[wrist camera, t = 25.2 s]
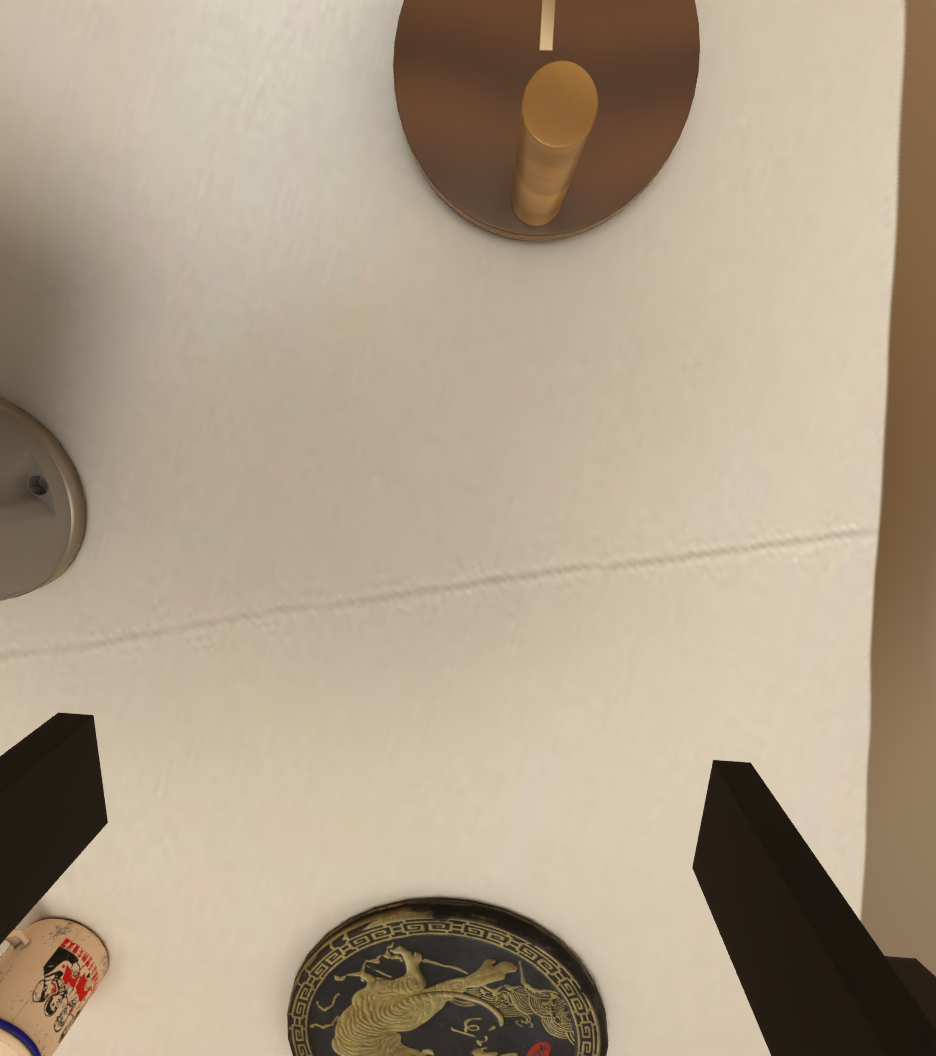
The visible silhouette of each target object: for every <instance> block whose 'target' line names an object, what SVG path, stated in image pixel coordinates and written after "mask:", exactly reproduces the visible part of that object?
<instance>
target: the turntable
mask: <svg viewBox="0 0 936 1056" xmlns="http://www.w3.org/2000/svg"><path fill="white" fill-rule="evenodd" d="M699 54H700V40H699V23H698V17H697V11H696V5H695V0H404V2H403V6H402V9H401V13H400V16H399V20H398V26H397V32H396V38H395V46H394V63H393V69H394V87H395V94H396V100H397V106H398V112H399V115H400V119H401V122H402V126H403V129H404V133H405V136H406V139H407V141H408V144H409V146H410V149H411V151H412V153H413V156H414V158H415V160H416V162H417V164H418V166H419V167H420V169H421V171H422V173H423V174H424V176H425V178H426V179H427V180H428V182H429V183H430V184H431V186H432V187H433V188H434V190H435V191H436V192H437V194H438V195H439V196H440V197H441V198H442V199H443V200H444V201H445V202H446V203H447V204H448V205H449V206H450V207H451V208H452V209H454V210H455V211H456V212H458V213H459V214H460V215H461V216H463V217H464V218H465V219H467V220H469V221H470V222H472V223H474V224H476V225H477V226H479V227H481V228H483V229H485V230H488V231H490V232H493V233H495V234H498V235H502V236H506V237H510V238H513V239H521V240H531V241H539V240H554V239H559V238H565V237H570V236H573V235H576V234H579V233H582V232H585V231H588V230H590V229H592V228H594V227H596V226H598V225H600V224H602V223H604V222H606V221H607V220H609V219H610V218H612V217H613V216H615V215H616V214H618V213H619V212H621V211H622V210H623V209H624V208H625V207H626V206H628V205H629V204H630V203H631V202H632V201H633V200H635V199H636V198H637V197H638V196H639V194H640V193H641V192H642V191H643V190H644V189H645V188H646V187H647V186H648V185H649V183H650V182H651V181H652V180H653V178H654V177H655V176H656V174H657V173H658V172H659V170H660V169H661V167H662V166H663V165H664V163H665V162H666V160H667V159H668V157H669V156H670V154H671V152H672V150H673V148H674V147H675V145H676V143H677V141H678V139H679V137H680V135H681V132H682V130H683V128H684V125H685V123H686V120H687V118H688V115H689V111H690V108H691V105H692V101H693V98H694V94H695V88H696V82H697V77H698V70H699Z"/></svg>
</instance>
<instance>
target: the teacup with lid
mask: <svg viewBox="0 0 936 1056" xmlns="http://www.w3.org/2000/svg"><path fill="white" fill-rule="evenodd" d="M5 940H7V941H8V942H10V944H11V945H10V947H9V948H8V949H7V950H6V951H5V952H4V954H3V955H2V956H1V957H0V1056H52V1055H53V1053H54V1052H55V1050H56V1049H57V1047H58V1046H59V1044H60V1043H61V1041H62V1040H63V1038H64V1037H65V1035H66V1034H67V1032H68V1031H69V1029H70V1028H71V1026H72V1025H73V1023H74V1021H75V1020H76V1018H77V1017H78V1015H79V1014H80V1012H81V1011H82V1009H83V1008H84V1006H85V1005H86V1003H87V1002H88V1000H89V999H90V997H91V996H92V994H93V993H94V991H95V990H96V988H97V986H98V985H99V983H100V982H101V980H102V979H103V977H104V975H105V973H106V970H107V966H108V958H107V953H106V950H105V948H104V946H103V944H102V943H101V941H100V940H99V939H98V938H97V937H96V936H95V935H94V934H93V933H92V932H91V931H89V930H88V929H87V928H85V927H83V926H81V925H79V924H77V923H75V922H72V921H68V920H63V919H45V920H41V921H38V922H35V923H33V924H31V925H30V926H28V927H27V928H26V929H25V930H24V931H23V932H22V931H20V930H17V929H14V930H13V931H12V932H11V933H10V934H9V935H8V936H7V938H6V939H5Z"/></svg>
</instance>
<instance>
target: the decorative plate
mask: <svg viewBox="0 0 936 1056" xmlns="http://www.w3.org/2000/svg"><path fill="white" fill-rule="evenodd" d="M287 1016H288V1040H289V1043H290V1047H291V1050H292V1054H293V1056H606V1055H607V1049H608V1033H607V1024H606V1014H605V1009H604V1006H603V1003H602V1001H601V998H600V995H599V993H598V990H597V987H596V985H595V983H594V982H593V980H592V979H591V977H590V976H589V974H588V973H587V971H586V970H585V968H584V967H583V965H582V964H581V962H580V961H579V960H578V959H577V958H576V957H575V956H574V955H573V954H572V953H571V952H570V951H569V950H568V949H567V948H566V947H565V946H564V945H563V944H562V943H561V942H560V941H559V940H558V939H556V938H555V937H553V936H552V935H550V934H549V933H547V932H546V931H544V930H543V929H541V928H540V927H538V926H537V925H535V924H534V923H532V922H530V921H527V920H525V919H523V918H521V917H518V916H516V915H514V914H511V913H509V912H507V911H505V910H501V909H497V908H493V907H489V906H485V905H482V904H478V903H474V902H466V901H455V900H444V899H431V900H417V901H405V902H401V903H396V904H392V905H388V906H384V907H380V908H376V909H373V910H371V911H369V912H366V913H364V914H362V915H360V916H357V917H355V918H353V919H351V920H348V921H347V922H345V923H344V924H343V925H341V926H340V927H338V928H337V929H335V930H334V931H333V932H331V933H330V934H328V935H327V936H325V938H324V939H323V940H322V941H321V942H320V943H319V944H318V945H317V946H316V947H315V948H314V950H313V951H312V952H311V953H310V954H309V955H308V956H307V958H306V960H305V962H304V964H303V965H302V967H301V969H300V971H299V973H298V975H297V976H296V978H295V982H294V986H293V990H292V994H291V998H290V1002H289V1007H288V1013H287Z"/></svg>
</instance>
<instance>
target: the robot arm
mask: <svg viewBox="0 0 936 1056" xmlns="http://www.w3.org/2000/svg"><path fill="white" fill-rule="evenodd" d="M85 517H86V516H85V502H84V496H83V492H82V487H81V484H80V481H79V478H78V476H77V473H76V471H75V469H74V467H73V465H72V463H71V461H70V459H69V457H68V456H67V454H66V453H65V451H64V450H63V448H62V447H61V445H60V444H59V443H58V442H57V440H56V439H55V438H54V437H53V436H52V435H51V433H50V432H49V431H48V430H47V429H46V428H45V427H44V426H42V425H41V424H40V423H39V422H38V421H37V420H35V419H34V418H33V417H32V416H30V415H29V414H27V413H26V412H24V411H23V410H21V409H20V408H18V407H16V406H14V405H12V404H11V403H8V402H6V401H4V400H2V399H0V601H2V600H6V599H10V598H14V597H18V596H21V595H24V594H26V593H29V592H31V591H33V590H36V589H38V588H40V587H42V586H44V585H46V584H48V583H50V582H51V581H53V580H54V579H56V578H57V577H58V576H59V575H61V574H62V573H63V572H64V571H65V570H66V569H67V568H68V566H69V565H70V564H71V562H72V561H73V559H74V558H75V556H76V554H77V552H78V550H79V547H80V545H81V542H82V539H83V535H84V529H85ZM107 823H108V821H107V813H106V806H105V798H104V791H103V783H102V776H101V768H100V761H99V753H98V746H97V739H96V731H95V724H94V716H93V715H83V714H69V713H57V714H56V715H55V716H53V717H52V718H51V719H49V720H48V721H47V722H45V723H44V724H43V725H41V726H40V727H39V728H37V729H36V730H35V731H33V732H32V733H31V734H29V735H28V736H27V737H25V738H24V739H23V740H21V741H20V742H19V743H17V744H16V745H15V746H13V747H12V748H11V749H9V750H8V751H7V752H5V753H4V754H3V755H1V756H0V944H1V943H2V942H3V941H4V940H5V939H6V938H7V936H8V935H9V934H10V933H11V932H12V931H13V930H14V929H15V927H16V926H17V925H18V924H19V923H20V922H21V921H22V919H23V918H24V917H25V916H26V915H27V914H28V913H29V911H30V910H31V909H32V908H33V907H34V906H35V905H36V904H37V902H38V901H39V900H40V899H41V898H42V897H43V896H44V894H45V893H46V892H47V891H48V890H49V889H50V888H51V886H52V885H53V884H54V883H55V882H56V881H57V880H58V879H59V877H60V876H61V875H62V874H63V873H64V872H65V871H66V869H67V868H68V867H69V866H70V865H71V864H72V863H73V861H74V860H75V859H76V858H77V857H78V856H79V855H80V854H81V852H82V851H83V850H84V849H85V848H86V847H87V846H88V844H89V843H90V842H91V841H92V840H93V839H94V838H95V836H96V835H97V834H98V833H99V832H100V831H101V830H102V828H103V827H104V826H105V825H106V824H107ZM692 868H693V870H694V873H695V875H696V877H697V880H698V882H699V885H700V887H701V889H702V892H703V894H704V896H705V899H706V901H707V904H708V906H709V908H710V911H711V913H712V915H713V918H714V920H715V923H716V925H717V927H718V930H719V932H720V935H721V937H722V939H723V942H724V944H725V946H726V949H727V951H728V954H729V956H730V958H731V961H732V963H733V965H734V968H735V970H736V973H737V975H738V977H739V980H740V982H741V985H742V987H743V989H744V992H745V994H746V996H747V999H748V1001H749V1004H750V1006H751V1008H752V1011H753V1013H754V1015H755V1018H756V1020H757V1023H758V1025H759V1027H760V1030H761V1032H762V1035H763V1037H764V1039H765V1042H766V1044H767V1046H768V1049H769V1051H770V1054H771V1056H936V977H935V976H934V975H933V974H932V973H931V972H930V971H929V970H928V969H926V968H925V967H924V966H923V965H922V964H921V963H920V962H919V961H918V960H917V959H913V958H901V957H888V956H884V955H883V953H882V952H881V950H880V949H879V948H878V946H877V945H876V943H875V942H874V940H873V939H872V938H871V936H870V935H869V933H868V932H867V930H866V929H865V927H864V926H863V924H862V923H861V922H860V920H859V919H858V917H857V916H856V914H855V913H854V911H853V910H852V909H851V907H850V906H849V904H848V903H847V901H846V900H845V898H844V897H843V896H842V894H841V893H840V891H839V890H838V888H837V887H836V885H835V884H834V883H833V881H832V880H831V878H830V877H829V875H828V874H827V872H826V871H825V870H824V868H823V867H822V865H821V864H820V862H819V861H818V859H817V858H816V857H815V855H814V854H813V852H812V851H811V849H810V848H809V846H808V845H807V844H806V842H805V841H804V839H803V838H802V836H801V835H800V833H799V832H798V831H797V829H796V828H795V826H794V825H793V823H792V822H791V820H790V819H789V818H788V816H787V815H786V813H785V812H784V810H783V809H782V807H781V806H780V805H779V803H778V802H777V800H776V799H775V797H774V796H773V794H772V793H771V792H770V790H769V789H768V787H767V786H766V784H765V783H764V781H763V780H762V779H761V777H760V776H759V774H758V773H757V771H756V770H755V768H754V767H753V766H752V764H751V763H747V762H733V761H720V760H713V764H712V769H711V774H710V780H709V785H708V790H707V795H706V800H705V805H704V811H703V816H702V821H701V826H700V831H699V836H698V842H697V847H696V852H695V857H694V862H693V867H692Z"/></svg>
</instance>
